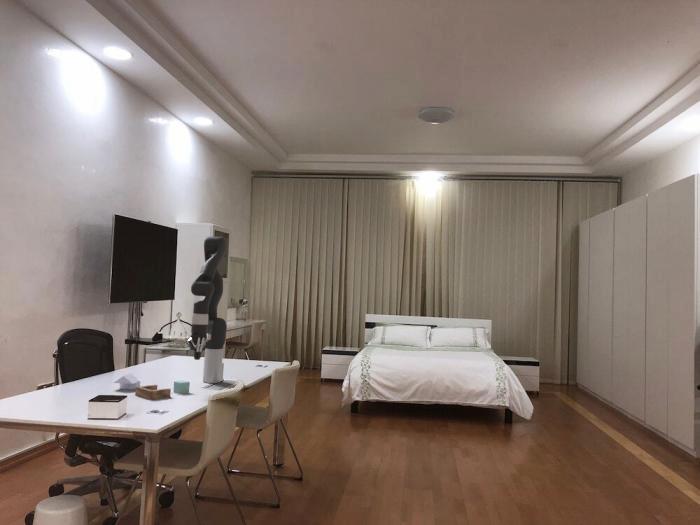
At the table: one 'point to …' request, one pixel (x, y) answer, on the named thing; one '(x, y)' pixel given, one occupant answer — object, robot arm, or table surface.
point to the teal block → (181, 387)
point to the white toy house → (128, 382)
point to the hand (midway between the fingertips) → (197, 359)
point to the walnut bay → (152, 392)
